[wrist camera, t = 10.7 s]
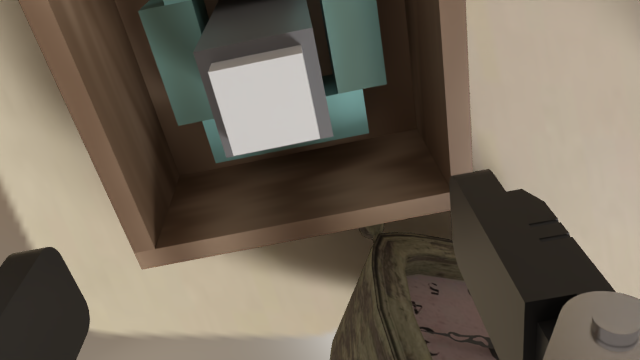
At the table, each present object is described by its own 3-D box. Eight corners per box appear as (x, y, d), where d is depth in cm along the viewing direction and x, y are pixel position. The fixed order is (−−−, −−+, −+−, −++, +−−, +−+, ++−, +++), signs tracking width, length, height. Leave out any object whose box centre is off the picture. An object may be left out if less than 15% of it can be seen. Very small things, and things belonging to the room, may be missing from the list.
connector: (302, -18, 26) (313, 35, 17) (318, 64, 28) (336, 147, 19) (218, 0, 26) (188, 61, 17) (240, 80, 28) (224, 170, 19)
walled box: (404, -186, 24) (456, -212, 17) (431, 133, 32) (474, 205, 25) (58, -111, 24) (-31, -106, 17) (171, 184, 32) (141, 269, 25)
